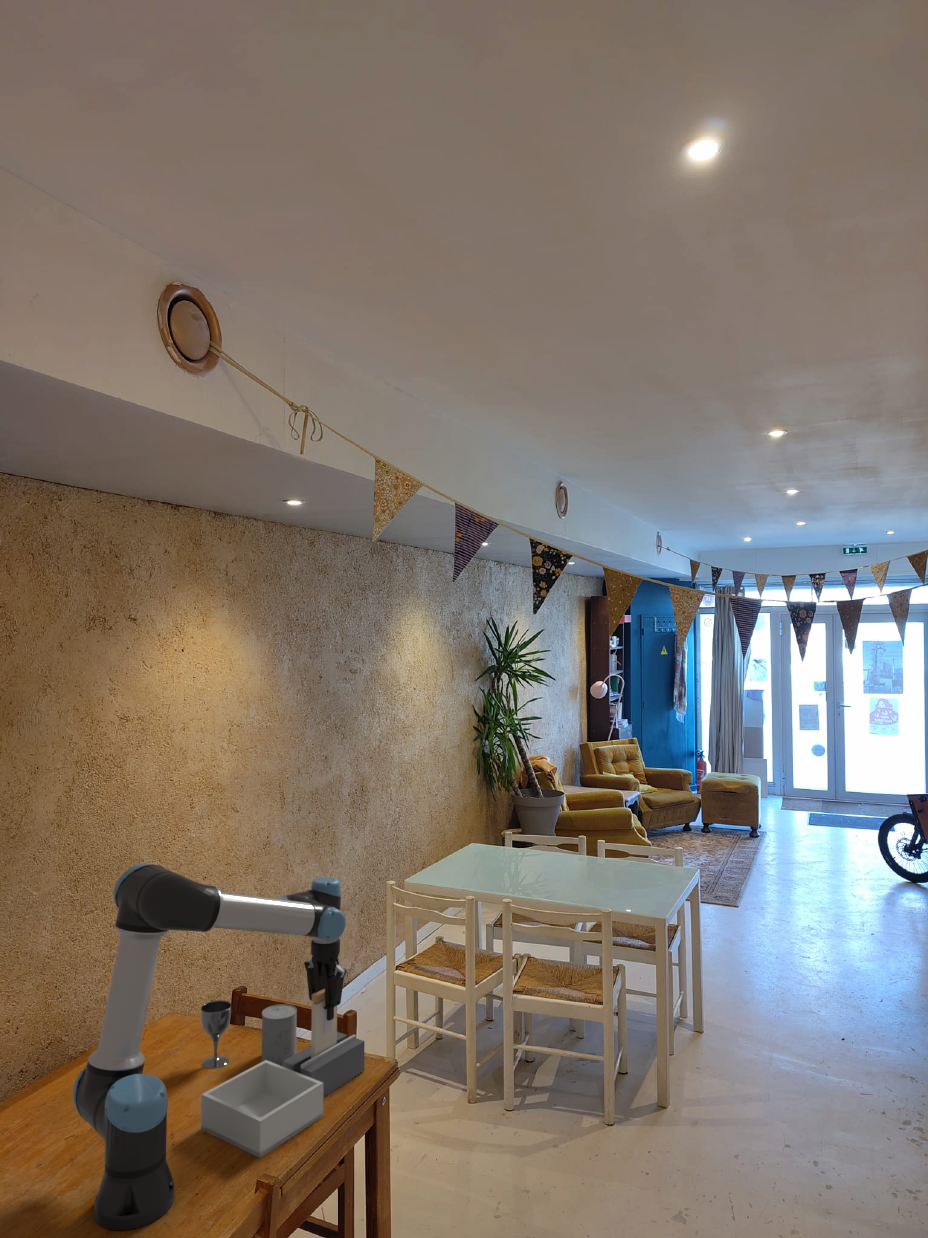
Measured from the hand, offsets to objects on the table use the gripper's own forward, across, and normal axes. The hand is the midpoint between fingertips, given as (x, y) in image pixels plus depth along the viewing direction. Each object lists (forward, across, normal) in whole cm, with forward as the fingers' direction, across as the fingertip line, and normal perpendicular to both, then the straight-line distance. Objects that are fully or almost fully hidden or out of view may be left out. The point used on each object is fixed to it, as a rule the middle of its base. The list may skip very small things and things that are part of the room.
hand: (324, 1030), depth 217 cm
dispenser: (+13, 0, 0) cm, 13 cm away
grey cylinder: (+13, +20, -3) cm, 24 cm away
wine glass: (+14, +32, +9) cm, 36 cm away
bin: (+13, -1, +22) cm, 26 cm away
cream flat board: (+6, 0, 0) cm, 6 cm away
